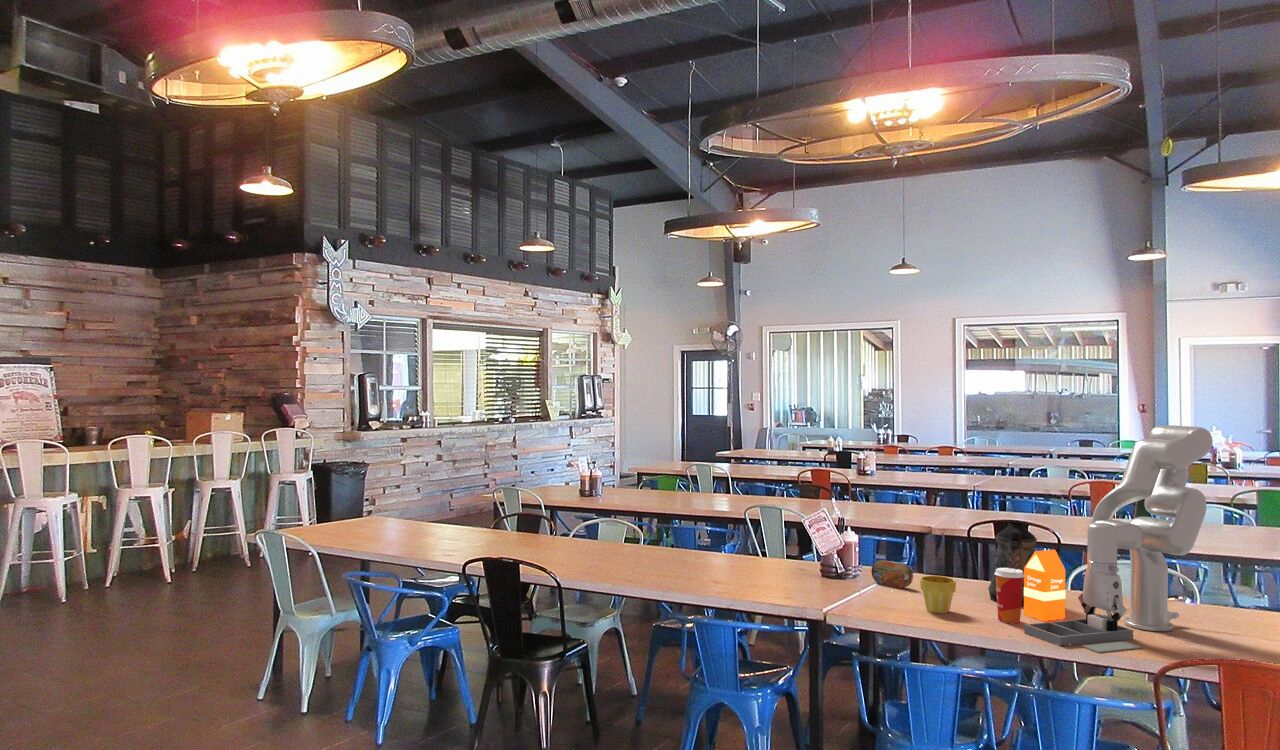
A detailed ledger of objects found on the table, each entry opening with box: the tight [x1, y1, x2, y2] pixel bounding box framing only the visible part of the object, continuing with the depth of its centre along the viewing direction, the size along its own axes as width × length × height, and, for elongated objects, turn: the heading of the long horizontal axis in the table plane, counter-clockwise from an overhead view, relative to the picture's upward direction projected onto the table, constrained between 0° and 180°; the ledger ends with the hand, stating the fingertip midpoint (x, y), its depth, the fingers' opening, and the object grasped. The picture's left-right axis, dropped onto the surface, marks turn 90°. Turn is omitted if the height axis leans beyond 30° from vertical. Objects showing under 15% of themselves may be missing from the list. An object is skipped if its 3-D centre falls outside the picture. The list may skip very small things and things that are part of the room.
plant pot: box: [919, 575, 957, 614], centre depth 279 cm, size 10×10×10 cm
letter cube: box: [1087, 613, 1109, 631], centre depth 256 cm, size 5×5×5 cm
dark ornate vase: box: [987, 522, 1038, 607], centre depth 293 cm, size 16×19×25 cm
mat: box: [1079, 640, 1143, 654], centre depth 242 cm, size 15×6×1 cm, turn 109°
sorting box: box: [1024, 618, 1134, 647], centre depth 253 cm, size 25×13×2 cm, turn 109°
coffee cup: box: [995, 568, 1025, 624], centre depth 268 cm, size 8×8×15 cm
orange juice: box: [1023, 549, 1066, 622], centre depth 274 cm, size 8×9×20 cm
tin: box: [870, 559, 914, 589], centre depth 314 cm, size 15×3×8 cm, turn 43°
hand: (1101, 630), depth 256 cm, fingers open, 6 cm apart
